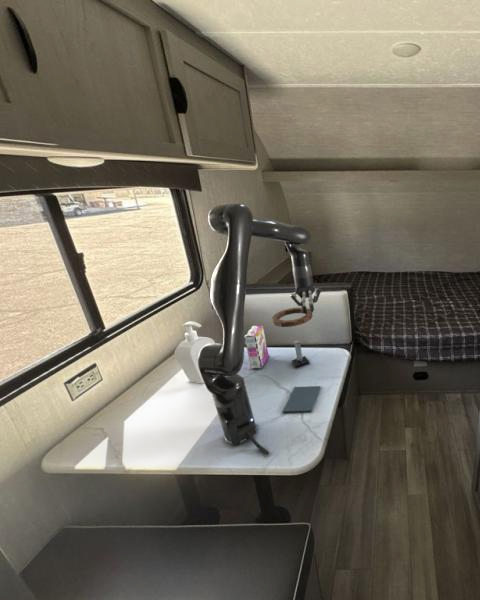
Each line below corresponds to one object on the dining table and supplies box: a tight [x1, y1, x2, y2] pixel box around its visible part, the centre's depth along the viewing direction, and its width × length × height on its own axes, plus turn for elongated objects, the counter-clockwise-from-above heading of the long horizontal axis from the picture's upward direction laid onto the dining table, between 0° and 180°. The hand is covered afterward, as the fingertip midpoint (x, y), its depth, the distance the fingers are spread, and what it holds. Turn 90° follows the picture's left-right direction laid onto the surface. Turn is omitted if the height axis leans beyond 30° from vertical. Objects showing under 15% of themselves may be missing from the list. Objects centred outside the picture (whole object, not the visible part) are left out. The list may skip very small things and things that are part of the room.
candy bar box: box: [244, 324, 269, 370], centre depth 140 cm, size 11×5×16 cm, turn 6°
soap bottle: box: [173, 320, 216, 384], centre depth 129 cm, size 12×10×26 cm
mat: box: [282, 385, 321, 414], centre depth 117 cm, size 14×10×1 cm
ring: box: [271, 306, 313, 328], centre depth 133 cm, size 16×16×2 cm
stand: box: [291, 339, 310, 369], centre depth 139 cm, size 6×6×11 cm
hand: (308, 312), depth 136 cm, fingers closed on ring, 2 cm apart
